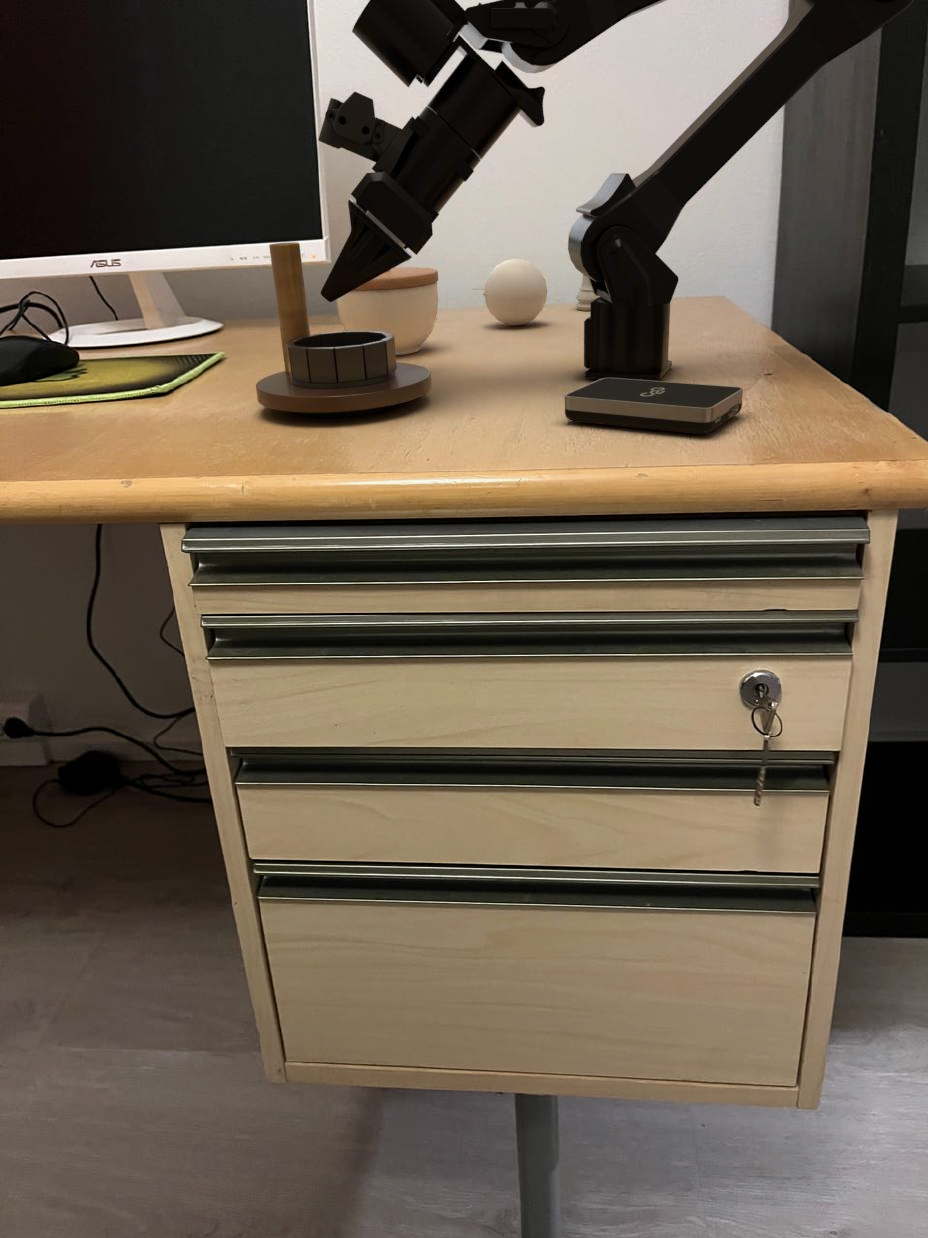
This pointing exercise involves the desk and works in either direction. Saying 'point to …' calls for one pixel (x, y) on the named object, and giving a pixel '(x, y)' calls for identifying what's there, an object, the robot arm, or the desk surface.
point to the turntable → (331, 356)
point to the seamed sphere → (515, 292)
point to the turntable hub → (347, 412)
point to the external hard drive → (654, 404)
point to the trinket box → (394, 306)
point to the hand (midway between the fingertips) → (329, 291)
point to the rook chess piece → (585, 295)
